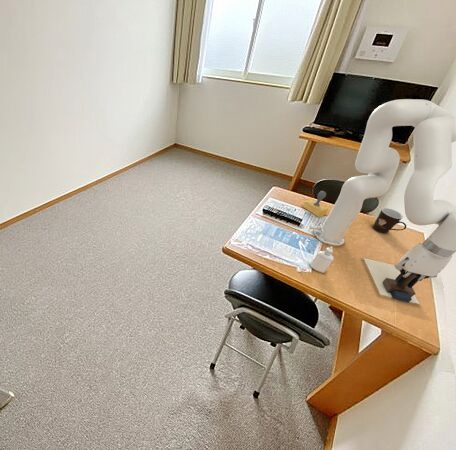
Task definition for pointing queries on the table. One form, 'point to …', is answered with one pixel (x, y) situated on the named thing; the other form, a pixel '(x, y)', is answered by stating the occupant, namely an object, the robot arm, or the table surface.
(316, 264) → the eye dropper bottle
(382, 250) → the table surface
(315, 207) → the rubber stamp
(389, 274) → the tile
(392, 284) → the handled square plate
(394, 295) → the eraser
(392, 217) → the coffee mug
